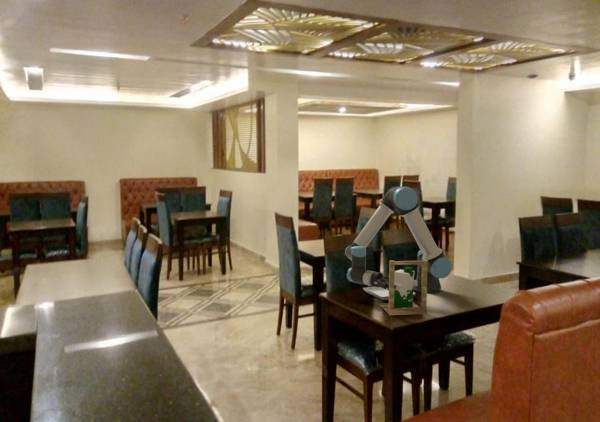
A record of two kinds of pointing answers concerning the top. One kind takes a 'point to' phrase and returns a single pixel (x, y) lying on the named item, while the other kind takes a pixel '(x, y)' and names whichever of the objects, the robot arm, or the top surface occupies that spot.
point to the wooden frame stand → (390, 305)
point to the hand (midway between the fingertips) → (410, 285)
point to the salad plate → (379, 292)
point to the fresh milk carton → (404, 288)
